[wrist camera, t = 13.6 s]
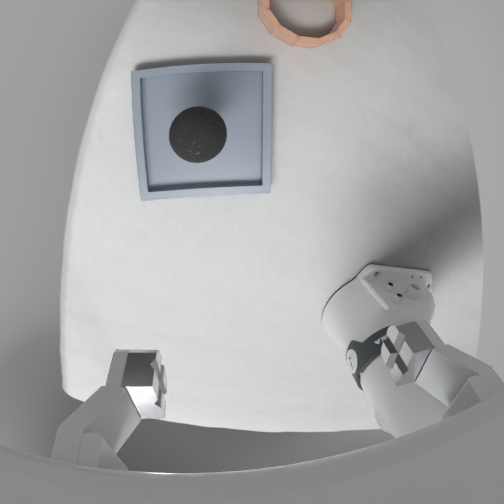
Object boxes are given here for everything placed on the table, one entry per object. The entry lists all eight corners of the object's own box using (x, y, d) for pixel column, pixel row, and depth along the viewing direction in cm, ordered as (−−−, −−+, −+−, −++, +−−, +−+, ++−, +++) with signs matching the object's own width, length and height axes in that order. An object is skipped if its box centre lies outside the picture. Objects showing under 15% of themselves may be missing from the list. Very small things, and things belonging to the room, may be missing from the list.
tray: (269, 64, 32) (272, 63, 31) (267, 188, 40) (270, 193, 38) (134, 72, 30) (131, 71, 29) (143, 196, 38) (141, 200, 36)
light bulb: (227, 146, 36) (234, 161, 27) (181, 156, 36) (172, 174, 27) (218, 101, 33) (223, 100, 24) (171, 111, 33) (159, 114, 24)
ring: (340, -18, 27) (349, -24, 24) (341, 51, 32) (351, 49, 29) (258, -29, 26) (262, -37, 23) (258, 44, 31) (262, 39, 28)
